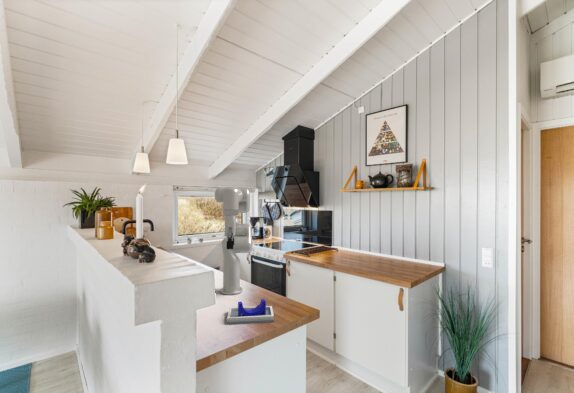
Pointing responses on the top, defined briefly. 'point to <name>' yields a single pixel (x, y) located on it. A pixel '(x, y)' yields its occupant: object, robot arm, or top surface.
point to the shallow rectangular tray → (235, 319)
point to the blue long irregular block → (252, 310)
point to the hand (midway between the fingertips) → (230, 247)
